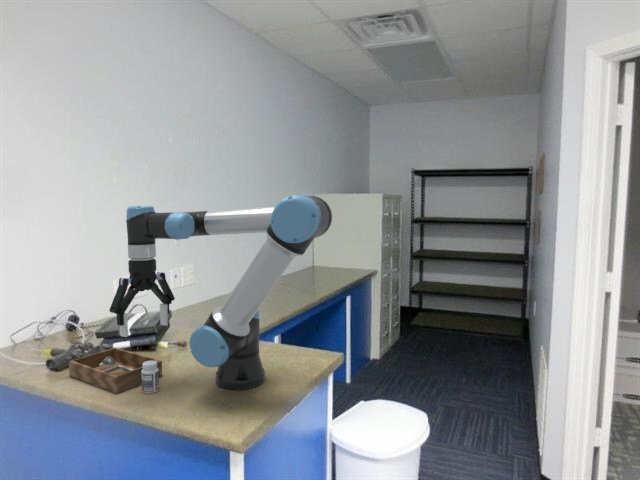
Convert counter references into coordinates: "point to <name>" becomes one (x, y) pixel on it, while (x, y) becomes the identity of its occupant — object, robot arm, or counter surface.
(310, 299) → the counter surface
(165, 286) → the robot arm
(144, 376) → the pill bottle
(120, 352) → the box
